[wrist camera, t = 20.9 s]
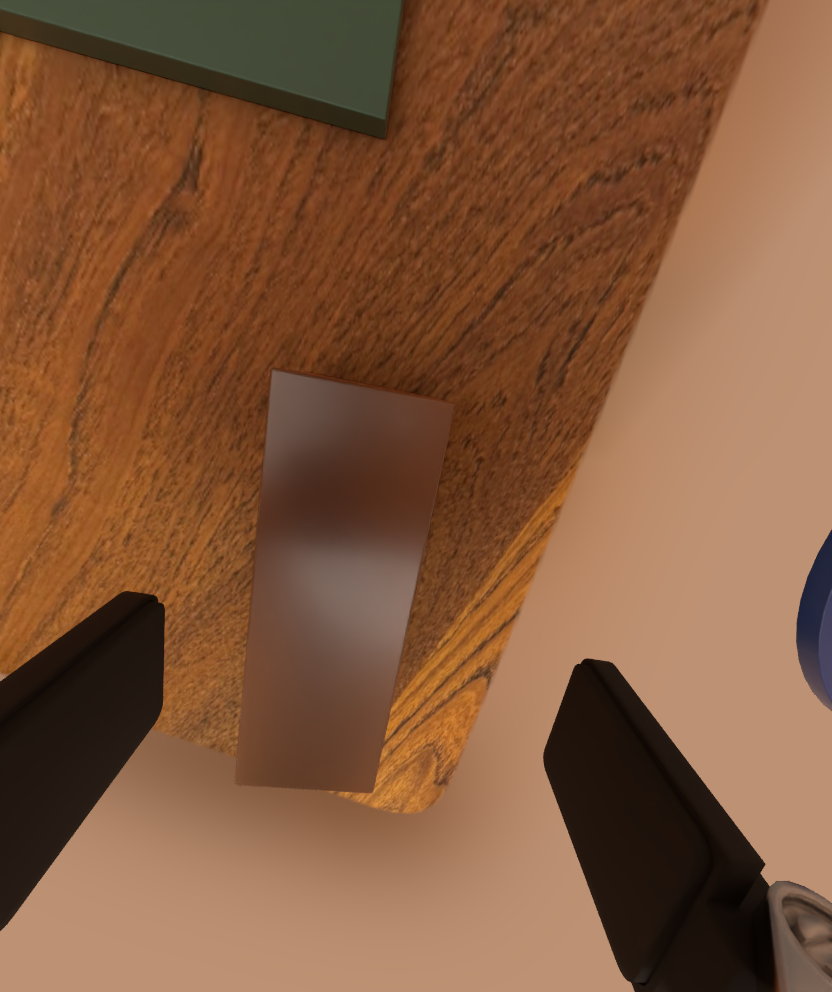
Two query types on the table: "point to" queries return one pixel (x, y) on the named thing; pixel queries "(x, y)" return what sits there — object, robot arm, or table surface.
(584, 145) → the table surface
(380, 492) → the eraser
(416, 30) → the table surface
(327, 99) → the chalkboard
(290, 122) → the table surface
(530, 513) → the table surface
